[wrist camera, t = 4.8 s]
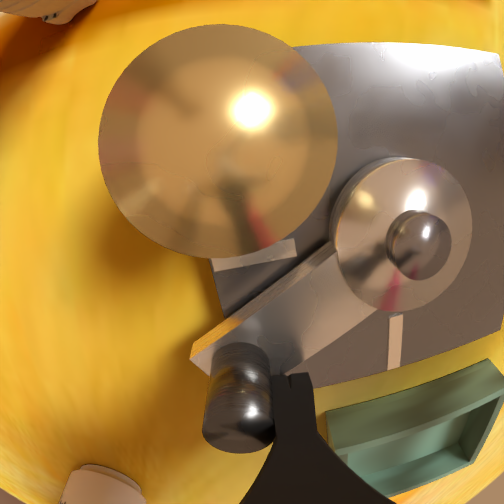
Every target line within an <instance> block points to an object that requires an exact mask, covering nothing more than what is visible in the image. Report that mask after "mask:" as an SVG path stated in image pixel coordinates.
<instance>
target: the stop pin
mask: <svg viewBox="0 0 504 504" xmlns="http://www.w3.org/2000/svg"><path fill="white" fill-rule="evenodd" d="M98 147H99V159H100V165H101V171H102V174H103V177H104V180H105V184H106V186H107V188H108V190H109V193H110V195H111V197H112V199H113V200H114V202H115V203H116V205H117V207H118V208H119V210H120V211H121V212H122V214H123V215H124V216H125V217H126V218H127V220H128V221H129V222H130V223H131V224H132V225H133V226H134V227H135V228H137V229H138V230H139V231H140V232H141V233H142V234H144V235H145V236H147V237H148V238H149V239H151V240H152V241H154V242H156V243H158V244H160V245H161V246H163V247H165V248H168V249H170V250H173V251H175V252H178V253H182V254H186V255H189V256H193V257H202V258H230V257H238V256H242V255H246V254H250V253H254V252H256V251H259V250H262V249H264V248H267V247H269V246H271V245H273V244H274V243H276V242H278V241H280V240H282V239H283V238H284V237H286V236H287V235H289V234H290V233H291V232H293V231H294V230H295V229H296V228H297V227H298V226H300V225H301V224H302V223H303V222H304V221H305V220H306V219H307V218H308V216H309V215H310V214H311V213H312V211H313V210H314V209H315V208H316V206H317V205H318V203H319V202H320V200H321V198H322V197H323V195H324V193H325V191H326V189H327V187H328V184H329V182H330V180H331V177H332V174H333V170H334V167H335V162H336V156H337V150H338V130H337V122H336V116H335V112H334V108H333V104H332V101H331V99H330V97H329V94H328V92H327V89H326V87H325V86H324V84H323V82H322V81H321V79H320V77H319V76H318V74H317V73H316V72H315V70H314V69H313V68H312V67H311V65H310V64H309V63H308V62H307V61H306V60H305V59H304V58H303V57H302V56H301V55H300V54H299V53H298V52H297V51H295V50H294V49H293V48H291V47H290V46H288V45H287V44H286V43H284V42H283V41H281V40H279V39H277V38H275V37H273V36H271V35H269V34H267V33H264V32H261V31H258V30H256V29H252V28H247V27H243V26H238V25H226V24H216V25H204V26H198V27H193V28H189V29H185V30H182V31H179V32H176V33H174V34H172V35H169V36H167V37H165V38H163V39H161V40H159V41H158V42H156V43H155V44H153V45H151V46H150V47H148V48H147V49H146V50H144V51H143V52H142V53H141V54H140V55H139V56H137V57H136V58H135V59H134V60H133V61H132V62H131V63H130V64H129V66H128V67H127V68H126V69H125V70H124V71H123V73H122V74H121V76H120V77H119V78H118V80H117V81H116V83H115V85H114V86H113V88H112V90H111V92H110V94H109V96H108V99H107V101H106V104H105V107H104V109H103V113H102V117H101V122H100V127H99V138H98Z"/></svg>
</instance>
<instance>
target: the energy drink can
mask: <svg viewBox="0 0 504 504" xmlns="http://www.w3.org/2000/svg"><path fill="white" fill-rule="evenodd" d="M59 504H146V500H145V498H144V497H143V496H142V494H141V488H140V487H139V485H138V484H137V483H136V482H134V481H133V480H132V479H130V478H129V477H127V476H125V475H124V474H122V473H120V472H117V471H115V470H113V469H110V468H107V467H103V466H99V465H92V464H88V465H84V466H82V467H81V468H80V470H75V471H72V472H71V474H70V476H69V478H68V481H67V483H66V486H65V488H64V491H63V493H62V496H61V499H60V501H59Z"/></svg>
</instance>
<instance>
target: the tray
mask: <svg viewBox="0 0 504 504" xmlns="http://www.w3.org/2000/svg"><path fill="white" fill-rule="evenodd" d="M503 402H504V376H503V375H502V373H501V372H500V371H499V370H498V369H497V368H496V367H495V365H494V364H493V363H492V362H491V361H490V360H489V359H486V360H483V361H481V362H479V363H476V364H474V365H472V366H469V367H467V368H465V369H462V370H460V371H457V372H455V373H452V374H450V375H447V376H444V377H442V378H439V379H436V380H434V381H431V382H428V383H425V384H422V385H420V386H417V387H414V388H411V389H408V390H404V391H401V392H398V393H395V394H392V395H388V396H385V397H382V398H378V399H374V400H371V401H367V402H363V403H360V404H356V405H352V406H348V407H344V408H339V409H335V410H331V411H326V425H327V439H328V445H329V447H330V448H331V449H332V450H333V451H334V452H335V453H336V454H337V456H338V457H339V458H340V459H341V460H342V461H343V462H344V463H345V464H346V465H347V466H348V467H349V468H350V469H352V470H353V471H354V472H355V473H356V474H357V475H358V476H360V477H361V478H362V479H363V480H364V481H365V482H366V483H368V484H369V485H370V486H372V487H373V488H374V489H376V490H377V491H378V492H380V493H381V494H382V495H384V496H385V497H387V498H389V497H392V496H395V495H398V494H401V493H404V492H407V491H410V490H412V489H415V488H418V487H420V486H423V485H426V484H428V483H431V482H433V481H435V480H438V479H440V478H443V477H445V476H447V475H449V474H452V473H454V472H456V471H458V470H460V469H462V468H464V467H466V466H469V465H471V464H473V463H474V461H475V460H476V458H477V456H478V454H479V452H480V450H481V449H482V447H483V445H484V443H485V441H486V439H487V437H488V435H489V433H490V431H491V429H492V427H493V425H494V423H495V420H496V418H497V416H498V414H499V412H500V409H501V407H502V405H503Z"/></svg>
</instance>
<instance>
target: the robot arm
mask: <svg viewBox="0 0 504 504" xmlns="http://www.w3.org/2000/svg"><path fill="white" fill-rule="evenodd" d="M271 381H272V396H273V418H274V423H275V431H276V437H275V439H274V441H273V445H272V448H271V450H270V452H269V454H268V457H267V459H266V461H265V463H264V465H263V467H262V469H261V470H260V472H259V474H258V476H257V478H256V479H255V481H254V483H253V484H252V486H251V487H250V489H249V490H248V492H247V493H246V495H245V496H244V498H243V499H242V501H241V502H240V503H239V504H396V503H395V502H393V501H391V500H390V499H388V498H387V497H385V496H384V495H382V494H381V493H380V492H378V491H377V490H376V489H374V488H373V487H372V486H370V485H369V484H368V483H366V482H365V481H364V480H363V479H362V478H361V477H360V476H358V475H357V474H356V473H355V472H354V471H353V470H352V469H350V468H349V467H348V466H347V465H346V464H345V463H344V462H343V461H342V460H341V459H340V458H339V457H338V456H337V454H336V453H335V452H334V451H333V450H332V449H331V448H330V447H329V445H328V444H327V443H326V442H325V440H324V439H323V438H322V437H321V435H320V434H319V433H318V431H317V424H316V414H315V403H314V393H313V385H312V382H311V379H310V376H309V373H308V372H303V373H293V374H290V375H289V376H287V375H285V374H284V375H273V376H271Z"/></svg>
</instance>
